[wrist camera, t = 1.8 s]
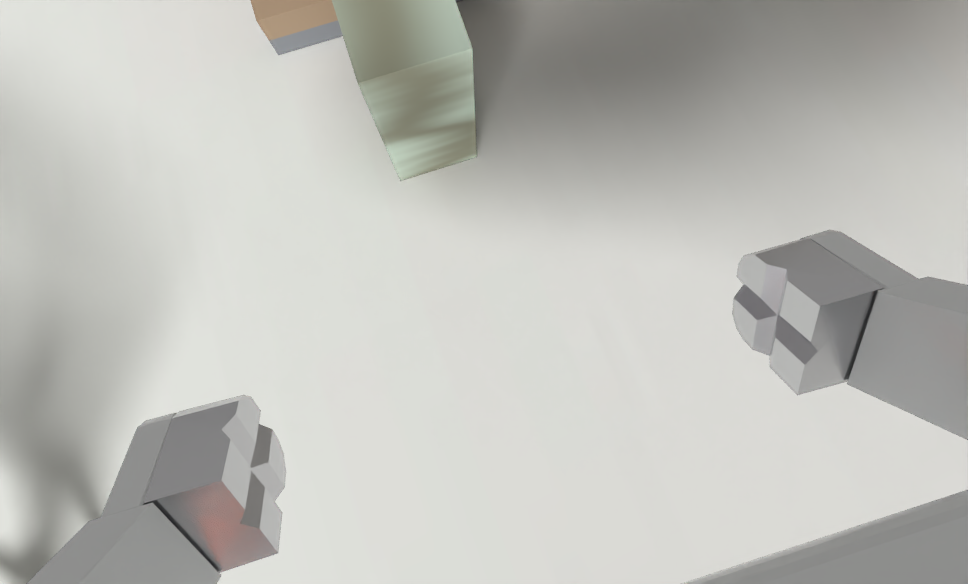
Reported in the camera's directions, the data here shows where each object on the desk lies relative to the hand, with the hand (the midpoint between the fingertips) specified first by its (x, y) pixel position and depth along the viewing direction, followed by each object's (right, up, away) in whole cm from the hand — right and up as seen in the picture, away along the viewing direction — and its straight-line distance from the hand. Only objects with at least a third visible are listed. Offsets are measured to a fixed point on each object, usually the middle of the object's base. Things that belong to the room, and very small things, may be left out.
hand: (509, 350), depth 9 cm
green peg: (-3, +9, +18) cm, 21 cm away
